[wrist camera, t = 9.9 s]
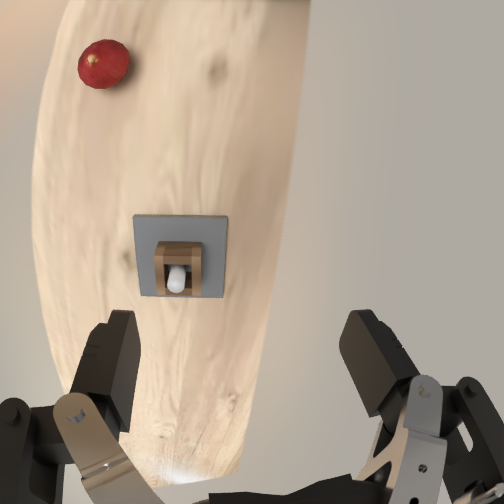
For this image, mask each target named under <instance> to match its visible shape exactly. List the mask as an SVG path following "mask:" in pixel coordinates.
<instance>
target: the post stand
mask: <svg viewBox="0 0 504 504" xmlns="http://www.w3.org/2000/svg"><path fill="white" fill-rule="evenodd" d="M133 227H134V240H135V251H136V260H137V269H138V278H139V285H140V293H141V296H157V297H197V298H223V288H224V267H225V249H226V232H227V216H199V215H134V216H133ZM159 241H185V242H202V250H201V296H179V295H157V288H156V278H155V266H154V253H155V250H156V247H157V245H158V242H159ZM168 271H170V273H169V278H168V283H167V287H168V289H169V290H170V291H171V292H173V293H179V292H181V291H183V289H184V285H185V276H186V272H192V265H179V264H168Z"/></svg>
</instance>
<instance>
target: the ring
mask: <svg viewBox="0 0 504 504" xmlns="http://www.w3.org/2000/svg"><path fill="white" fill-rule="evenodd" d="M201 250H202V242H185V241H159V242H158V245H157V247H156V250H155V253H154V266H155V278H156V288H157V295H179V296H201ZM168 264H179V265H192V272H186V276H185V285H184V289H183V291H181V292H179V293H173V292H171V291H170V290H169V289H168V287H167V283H168V278H169V273H170V271H168Z"/></svg>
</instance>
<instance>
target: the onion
mask: <svg viewBox="0 0 504 504" xmlns="http://www.w3.org/2000/svg"><path fill="white" fill-rule="evenodd" d="M129 62H130V60H129V53H128V50H127V49H126V48H125V46H124V45H123V44H121V43H119V42H117V41H115V40H107V39H103V40H100V41H97V42H95V43H92V44H91V45H90V46H89V47H87V48H86V49H85V50H84V52H83V53H82V55H81V57H80V58H79V62H78V73H79V77H80V79H81V80H82V81H83V82H84V83H85V85H88V86H90V87H92V88H95V89H105V88H108V87H110V86H113V85H115V84H116V83H118V82H119V81H120V80H121V79H122V78H123V76H124V75H125V73H126V72H127V70H128V66H129Z"/></svg>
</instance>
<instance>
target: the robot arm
mask: <svg viewBox="0 0 504 504" xmlns="http://www.w3.org/2000/svg"><path fill="white" fill-rule="evenodd" d="M339 349H340V353H341V355H342V357H343V360H344V362H345V364H346V366H347V368H348V370H349V372H350V375H351V377H352V379H353V381H354V384H355V386H356V388H357V390H358V393H359V395H360V397H361V399H362V402H363V404H364V406H365V408H366V411H367V413H368V415H369V417H374V416H378V415H381V417H382V420H381V421H380V423H379V426H378V429H377V432H376V436H375V439H374V442H373V445H372V448H371V451H370V454H369V457H368V459H367V462H366V463H365V465H364V467H363V468H362V469H361V471H360V472H359V474H358V476H357V478H356V480H352V477H351V474H346V475H343V476H339V477H335V478H331V479H326V480H322V481H318V482H316V483H314V484H312V485H309V486H307V487H305V488H303V489H300V490H298V491H296V492H293V493H291V494H288V495H271V494H260V493H251V492H234V493H209V499H206V500H202V501H199V502H196V503H193V504H436V503H437V499H438V495H439V490H440V486H441V481H442V478H443V480H444V483H445V486H446V488H447V491H448V494H449V497H450V499H451V502H452V504H504V423H503V421H502V420H501V418H500V416H499V414H498V412H497V410H496V409H495V407H494V405H493V403H492V402H491V400H490V398H489V397H488V395H487V393H486V392H485V390H484V388H483V387H482V385H481V384H480V383H479V382H478V381H477V380H475V379H474V378H472V377H463V378H462V379H461V380H460V381H459V382H458V384H457V385H456V386H441V385H440V384H439V383H438V381H436V380H435V379H434V378H432V377H430V376H428V375H421V374H420V373H419V371H418V370H417V368H416V367H415V365H414V363H413V362H412V360H411V359H410V357H409V356H408V354H407V352H406V351H405V349H404V348H402V345H401V343H400V342H399V340H397V337H396V336H395V334H394V333H393V331H392V330H391V328H389V327H388V326H387V325H386V324H385V323H383V322H382V321H379V320H378V319H377V317H376V316H375V314H374V313H373V311H372V310H370V309H366V310H353V311H351V312H350V314H349V316H348V319H347V322H346V324H345V327H344V330H343V332H342V335H341V337H340V341H339ZM140 356H141V344H140V338H139V333H138V328H137V323H136V318H135V313H134V311H129V310H113V311H112V312H111V315H110V318H109V321H108V323H107V324H106V323H99V324H98V325H97V326H96V327H95V328H94V329H93V330H92V331H91V332H90V335H89V337H88V340H87V343H86V346H85V348H84V351H83V356H82V357H81V360H80V362H79V365H78V368H77V371H76V374H75V378H74V381H73V384H72V387H71V390H70V392H69V394H66V395H64V396H62V397H61V398H60V399H59V400H58V401H57V402H56V404H55V405H52V406H45V407H33V408H29V406H28V405H27V404H26V403H25V402H24V401H23V400H21V399H19V398H9V399H6V400H4V401H3V402H2V403H1V404H0V504H62V496H63V481H64V468H65V464H73V463H75V464H76V466H77V468H78V469H79V471H80V473H81V476H82V478H81V482H82V484H83V486H84V488H85V490H86V492H87V493H88V495H89V497H90V498H91V500H92V501H93V503H94V504H165V503H164V502H163V501H162V500H161V499H160V498H159V497H158V495H157V494H156V493H155V492H154V491H153V489H152V488H151V487H150V486H149V484H148V483H147V482H146V481H145V479H144V478H143V477H142V476H141V474H140V473H139V472H138V470H137V469H136V468H135V466H134V465H133V463H132V462H131V461H130V459H129V458H128V456H127V455H126V454H125V452H124V451H123V449H122V448H121V446H120V445H119V443H118V442H119V434H120V432H127V433H129V430H130V421H131V414H132V406H133V399H134V392H135V386H136V380H137V374H138V368H139V362H140ZM462 422H464V424H465V426H466V428H467V430H468V432H469V434H470V436H471V438H472V440H473V448H472V450H471V451H470V452H469V451H468V450H467V447H466V445H465V443H464V441H463V439H462V437H461V435H460V432H459V430H458V428H457V427H458V426H459V425H460V424H461V423H462Z"/></svg>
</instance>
